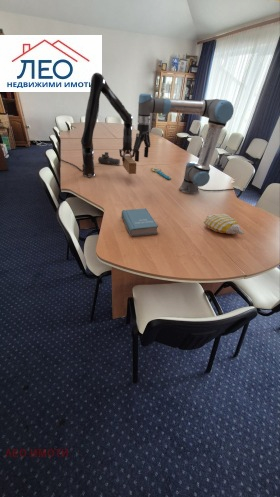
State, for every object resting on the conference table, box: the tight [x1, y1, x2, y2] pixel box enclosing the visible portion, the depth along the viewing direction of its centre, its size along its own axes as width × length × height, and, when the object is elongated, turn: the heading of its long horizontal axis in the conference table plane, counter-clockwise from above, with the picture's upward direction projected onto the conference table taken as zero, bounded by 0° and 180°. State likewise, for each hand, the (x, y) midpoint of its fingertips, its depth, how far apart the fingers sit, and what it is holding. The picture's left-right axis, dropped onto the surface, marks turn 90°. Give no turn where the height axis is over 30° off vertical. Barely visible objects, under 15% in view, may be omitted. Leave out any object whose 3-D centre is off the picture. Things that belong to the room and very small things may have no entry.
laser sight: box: [97, 151, 121, 166], centre depth 229 cm, size 10×22×10 cm, turn 78°
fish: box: [203, 213, 245, 235], centre depth 133 cm, size 25×8×20 cm
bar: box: [122, 155, 137, 175], centre depth 188 cm, size 23×6×9 cm, turn 16°
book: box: [121, 207, 159, 237], centre depth 133 cm, size 23×16×5 cm
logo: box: [150, 167, 172, 180], centre depth 216 cm, size 34×10×1 cm, turn 16°
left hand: (127, 161), depth 194 cm, fingers closed on bar, 6 cm apart
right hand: (141, 159), depth 150 cm, fingers open, 13 cm apart
